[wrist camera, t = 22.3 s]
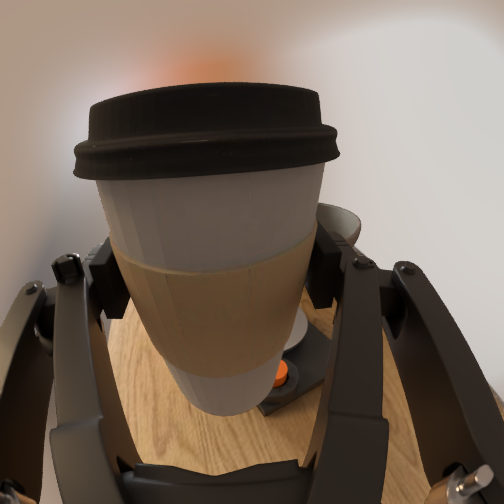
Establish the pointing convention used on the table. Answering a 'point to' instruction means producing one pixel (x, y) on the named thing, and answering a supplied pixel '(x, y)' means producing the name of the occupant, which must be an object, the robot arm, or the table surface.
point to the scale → (300, 370)
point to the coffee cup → (212, 223)
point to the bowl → (339, 221)
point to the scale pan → (297, 331)
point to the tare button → (281, 375)
